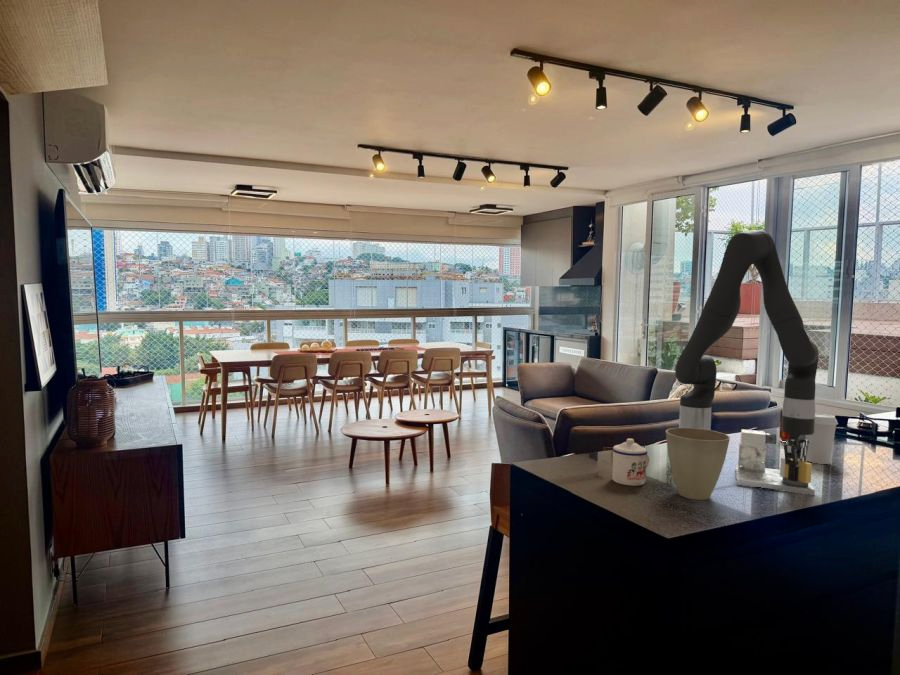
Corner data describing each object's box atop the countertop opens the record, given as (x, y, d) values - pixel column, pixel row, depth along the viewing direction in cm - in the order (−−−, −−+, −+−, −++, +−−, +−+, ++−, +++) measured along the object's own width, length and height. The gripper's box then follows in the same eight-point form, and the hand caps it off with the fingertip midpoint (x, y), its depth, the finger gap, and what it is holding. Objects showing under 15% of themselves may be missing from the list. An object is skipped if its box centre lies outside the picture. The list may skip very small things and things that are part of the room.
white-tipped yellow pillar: (815, 485, 155) (816, 462, 155) (800, 487, 153) (802, 464, 152) (789, 478, 162) (790, 456, 161) (775, 480, 159) (776, 458, 159)
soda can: (804, 442, 216) (806, 409, 215) (795, 445, 212) (797, 411, 211) (784, 439, 222) (786, 406, 221) (775, 441, 217) (777, 408, 217)
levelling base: (736, 485, 159) (739, 439, 159) (735, 469, 176) (737, 428, 175) (814, 495, 152) (816, 447, 151) (805, 478, 168) (807, 434, 168)
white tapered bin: (803, 463, 185) (805, 416, 184) (798, 457, 194) (800, 411, 193) (838, 467, 181) (841, 419, 180) (831, 460, 190) (834, 414, 189)
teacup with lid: (630, 488, 154) (631, 444, 154) (604, 479, 162) (605, 437, 161) (660, 482, 160) (662, 439, 160) (634, 473, 168) (636, 433, 168)
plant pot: (654, 495, 148) (656, 433, 147) (675, 483, 160) (677, 425, 159) (716, 509, 139) (719, 442, 138) (734, 495, 150) (737, 433, 149)
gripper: (806, 420, 149) (802, 487, 150) (821, 414, 159) (818, 477, 159) (774, 415, 154) (770, 480, 155) (790, 410, 164) (787, 471, 165)
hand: (794, 478), depth 157 cm, fingers closed on white-tipped yellow pillar, 3 cm apart
